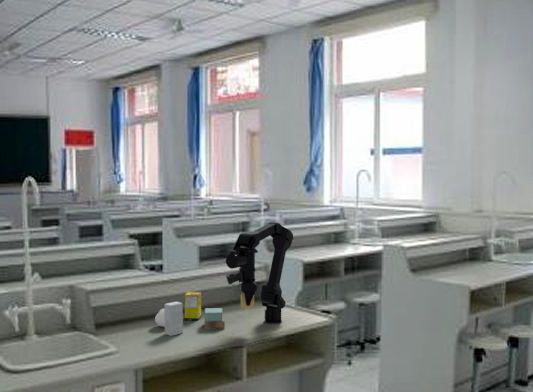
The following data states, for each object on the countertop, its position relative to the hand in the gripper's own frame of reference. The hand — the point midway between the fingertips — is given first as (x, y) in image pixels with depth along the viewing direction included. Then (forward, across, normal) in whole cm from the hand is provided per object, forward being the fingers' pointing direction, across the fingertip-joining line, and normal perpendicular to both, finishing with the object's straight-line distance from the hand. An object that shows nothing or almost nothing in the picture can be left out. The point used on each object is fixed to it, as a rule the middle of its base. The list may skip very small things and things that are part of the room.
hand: (247, 304), depth 234 cm
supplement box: (+11, -21, -22) cm, 32 cm away
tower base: (+11, -8, -13) cm, 19 cm away
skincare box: (+11, +1, -29) cm, 31 cm away
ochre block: (+1, 0, 0) cm, 1 cm away
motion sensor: (+11, -9, -33) cm, 36 cm away
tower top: (+8, -8, -13) cm, 17 cm away
